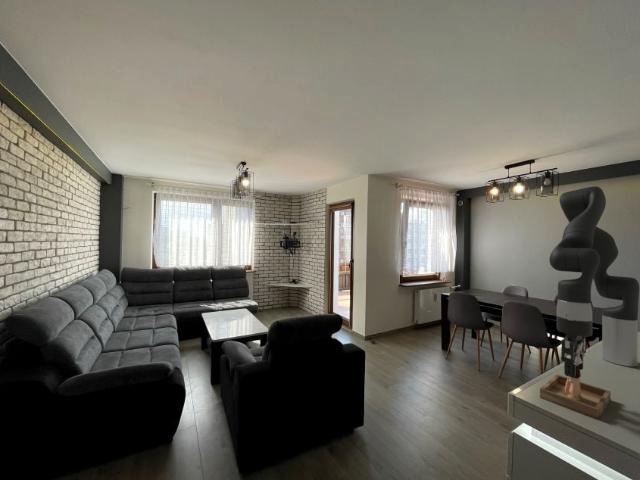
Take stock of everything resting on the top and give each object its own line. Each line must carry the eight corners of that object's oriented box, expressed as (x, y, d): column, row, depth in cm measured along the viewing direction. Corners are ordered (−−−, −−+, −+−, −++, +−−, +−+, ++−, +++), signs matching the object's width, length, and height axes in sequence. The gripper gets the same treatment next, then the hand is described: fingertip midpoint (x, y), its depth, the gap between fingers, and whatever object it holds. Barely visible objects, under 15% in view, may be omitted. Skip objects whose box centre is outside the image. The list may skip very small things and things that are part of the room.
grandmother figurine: (566, 389, 81) (565, 347, 81) (583, 394, 78) (582, 351, 79) (563, 400, 76) (562, 355, 76) (582, 406, 73) (581, 359, 73)
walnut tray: (556, 382, 87) (556, 374, 87) (610, 400, 77) (610, 391, 77) (539, 397, 78) (539, 388, 78) (598, 419, 68) (598, 410, 68)
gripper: (563, 310, 85) (564, 361, 84) (549, 317, 77) (549, 373, 76) (597, 315, 79) (597, 371, 78) (585, 323, 70) (586, 385, 70)
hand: (574, 372), depth 77 cm, fingers open, 8 cm apart
